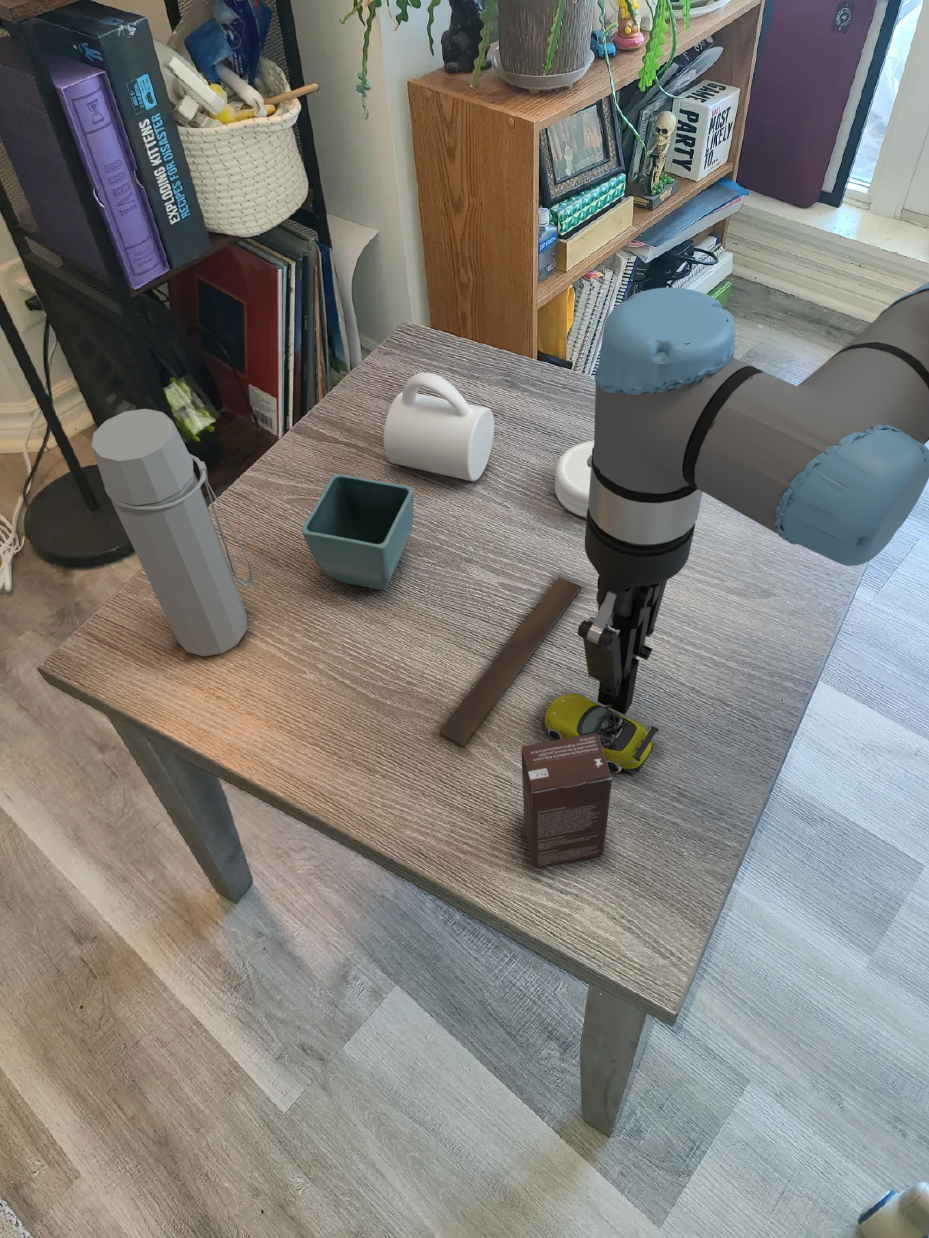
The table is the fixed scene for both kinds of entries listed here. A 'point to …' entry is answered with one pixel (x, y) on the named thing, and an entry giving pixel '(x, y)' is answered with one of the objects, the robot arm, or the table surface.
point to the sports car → (600, 730)
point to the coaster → (574, 478)
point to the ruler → (509, 663)
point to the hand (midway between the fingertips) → (614, 702)
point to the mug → (438, 430)
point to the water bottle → (172, 528)
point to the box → (565, 799)
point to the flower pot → (360, 529)
